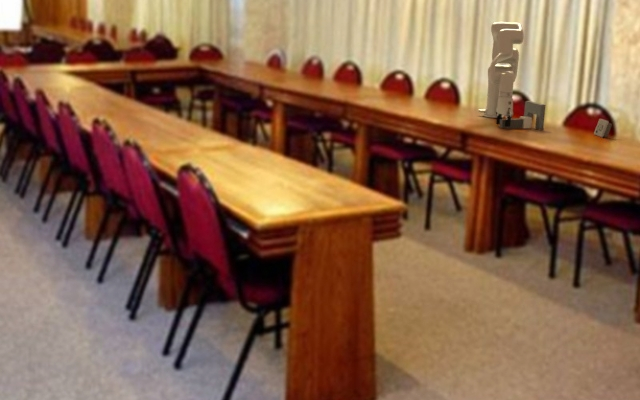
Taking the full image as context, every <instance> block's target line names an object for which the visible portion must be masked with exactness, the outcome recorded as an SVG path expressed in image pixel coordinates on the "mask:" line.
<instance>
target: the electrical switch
mask: <svg viewBox="0 0 640 400" xmlns="http://www.w3.org/2000/svg"><path fill="white" fill-rule="evenodd" d="M609 121H610V120H606V119H603V118H599V119H598V122H597V125H596V127H595V129H594V132H593V135H594V136H597V137H600V138H603V137H604V138H608V136H609V133H610V131H611V128H612V125H613V123H610V122H609Z"/></svg>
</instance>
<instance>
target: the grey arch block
mask: <svg viewBox="0 0 640 400" xmlns="http://www.w3.org/2000/svg"><path fill="white" fill-rule="evenodd" d="M523 113H524V114H523V116H528V117H531V118H532V119H533V115H536V117H535V126H534V127H535V128H536V129H535V128H534V129H535V130H539V129H541V130H544V127H545V126H544V125H545V115H546V104H543V103H540V102H535V101H531V100H526V101H524V112H523Z"/></svg>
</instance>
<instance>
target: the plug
mask: <svg viewBox="0 0 640 400" xmlns="http://www.w3.org/2000/svg"><path fill="white" fill-rule="evenodd" d="M505 120H506V118H502V119H500V124H498V128H499V129H502V130H503V129H507V130H508V129H531V128H532V123H533V122H532V121H533V117H532V118H531V117H528V116H524V115H523V116H519V118H511V123H510V127H505Z"/></svg>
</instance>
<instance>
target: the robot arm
mask: <svg viewBox="0 0 640 400" xmlns="http://www.w3.org/2000/svg"><path fill="white" fill-rule="evenodd" d="M490 31H491V35H492V41H493V43H492V50H491V51H492V52H491V63H490V65H489V66H488V68H487V93H486V95H487V97H486V108H483V109H480V108H479V109H478V113H480V114H481V113H483V114H482V115H483V117H485V118H492V119H495V118H496V121H495V123H496V124H497V125H499V124H500V119H504V117H505V119H506V120H505V127H510V123H511V119H513V116H514V100H513V99H514V98H513V96H514V94H513V93H514V92H513V91H514V84H515V83H514V82H515V81H516V79H517V76H518V67H519V60H520V58H519V57H520V53H519V50H518V49H517V48H514V45H521V44H523V42H524V38H525V36H524V35H525V34H524V29H523V27H522V24H521V23H520V22H509V21H508V22H507V21H495V22H493V23H492V24H491V27H490ZM507 64H508V65H507Z"/></svg>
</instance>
